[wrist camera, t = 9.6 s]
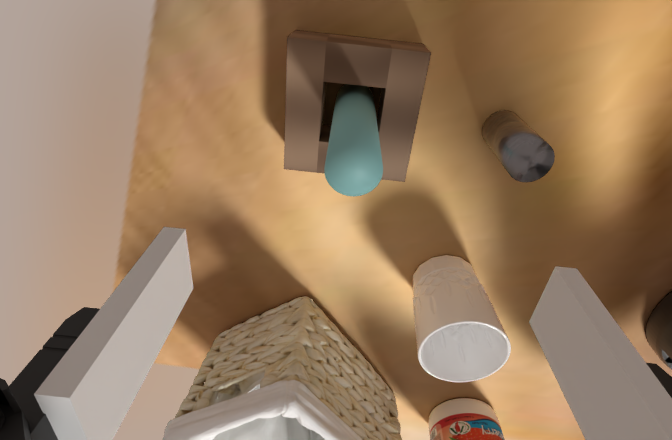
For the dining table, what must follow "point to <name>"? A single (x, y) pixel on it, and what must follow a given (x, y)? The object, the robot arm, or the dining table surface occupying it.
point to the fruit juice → (464, 421)
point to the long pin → (354, 143)
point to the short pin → (517, 146)
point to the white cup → (456, 322)
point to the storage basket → (286, 384)
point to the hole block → (356, 69)
